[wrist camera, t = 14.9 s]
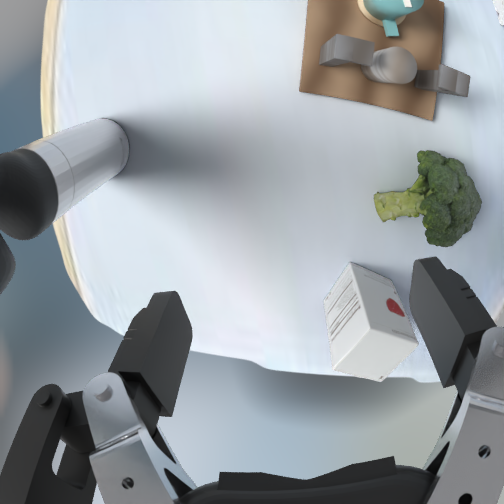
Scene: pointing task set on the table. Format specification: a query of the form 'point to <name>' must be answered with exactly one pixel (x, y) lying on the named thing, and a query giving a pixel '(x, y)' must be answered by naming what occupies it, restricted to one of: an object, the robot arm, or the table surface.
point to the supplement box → (367, 325)
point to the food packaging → (499, 10)
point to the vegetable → (435, 199)
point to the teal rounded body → (391, 12)
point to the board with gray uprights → (378, 57)
